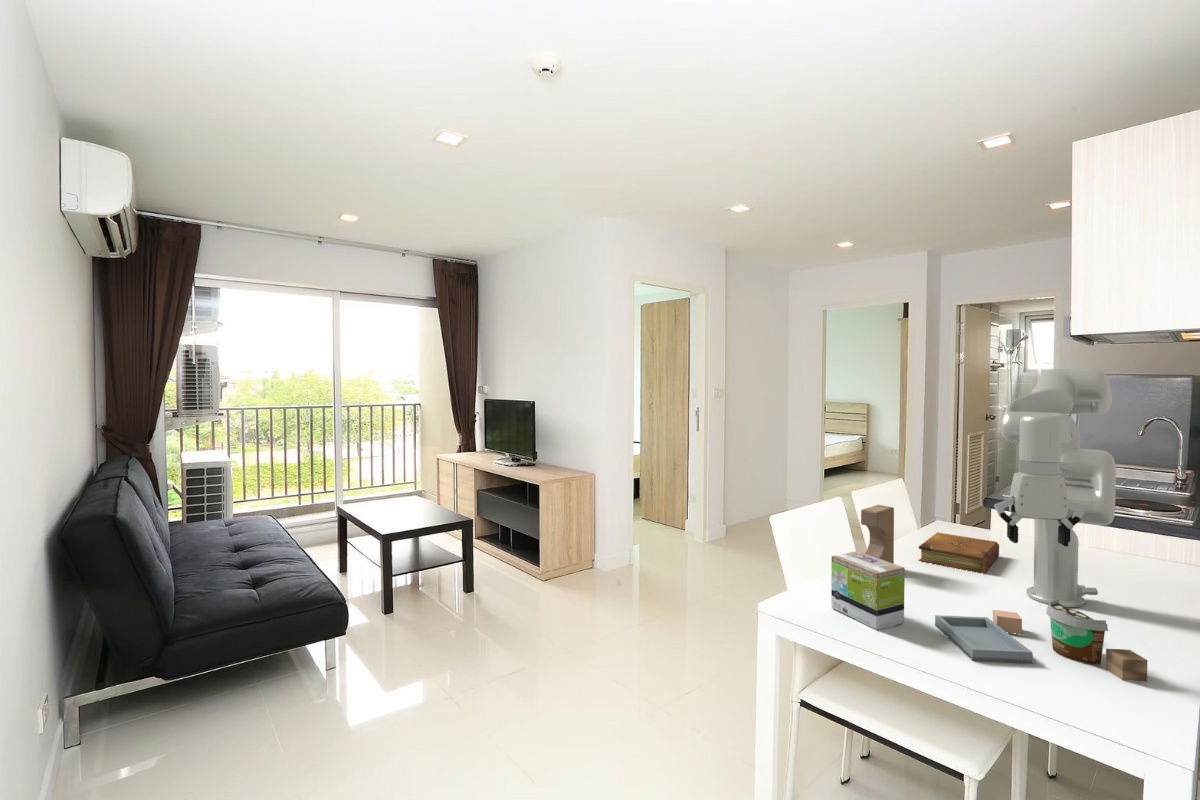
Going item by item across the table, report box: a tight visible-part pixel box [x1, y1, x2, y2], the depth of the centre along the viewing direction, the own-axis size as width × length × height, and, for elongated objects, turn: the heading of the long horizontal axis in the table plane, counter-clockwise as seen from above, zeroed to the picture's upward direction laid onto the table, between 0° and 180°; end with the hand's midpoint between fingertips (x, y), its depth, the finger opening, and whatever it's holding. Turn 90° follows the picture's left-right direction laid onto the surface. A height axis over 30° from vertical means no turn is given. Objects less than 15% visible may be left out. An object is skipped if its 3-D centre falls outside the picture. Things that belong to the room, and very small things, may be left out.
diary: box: [918, 532, 1000, 575], centre depth 192 cm, size 23×19×6 cm
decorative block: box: [860, 504, 895, 564], centre depth 182 cm, size 11×6×20 cm, turn 126°
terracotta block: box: [992, 609, 1023, 635], centre depth 139 cm, size 5×4×4 cm
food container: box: [1045, 600, 1109, 665], centre depth 126 cm, size 12×6×10 cm, turn 5°
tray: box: [934, 615, 1034, 664], centre depth 132 cm, size 12×18×2 cm, turn 172°
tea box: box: [830, 550, 906, 631], centre depth 148 cm, size 15×10×15 cm, turn 23°
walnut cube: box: [1105, 648, 1148, 683], centre depth 117 cm, size 4×4×4 cm
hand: (1037, 543), depth 130 cm, fingers open, 9 cm apart
